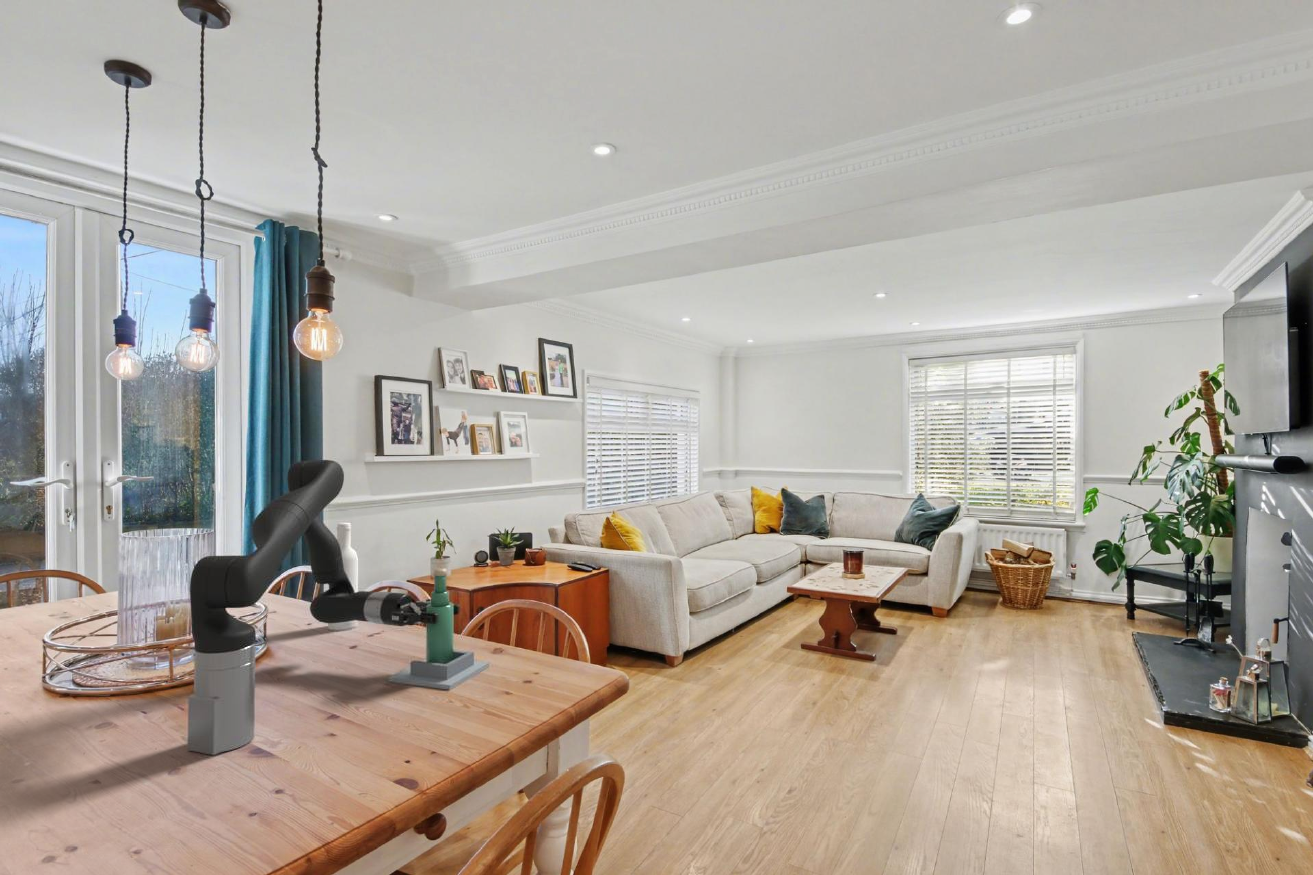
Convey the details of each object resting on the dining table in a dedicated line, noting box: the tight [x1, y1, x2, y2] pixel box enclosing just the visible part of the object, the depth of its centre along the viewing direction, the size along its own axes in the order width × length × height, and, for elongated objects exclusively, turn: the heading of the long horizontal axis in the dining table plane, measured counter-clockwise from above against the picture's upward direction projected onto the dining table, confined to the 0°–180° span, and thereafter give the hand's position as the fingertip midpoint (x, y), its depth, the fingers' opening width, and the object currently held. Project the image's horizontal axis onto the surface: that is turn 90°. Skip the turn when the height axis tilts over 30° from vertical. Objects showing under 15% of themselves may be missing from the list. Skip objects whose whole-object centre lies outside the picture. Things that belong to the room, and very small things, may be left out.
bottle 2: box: [425, 567, 455, 664], centre depth 159 cm, size 6×6×23 cm
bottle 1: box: [327, 522, 359, 632], centre depth 197 cm, size 8×8×30 cm
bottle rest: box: [388, 649, 490, 691], centre depth 159 cm, size 16×16×4 cm
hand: (448, 614), depth 158 cm, fingers open, 8 cm apart
